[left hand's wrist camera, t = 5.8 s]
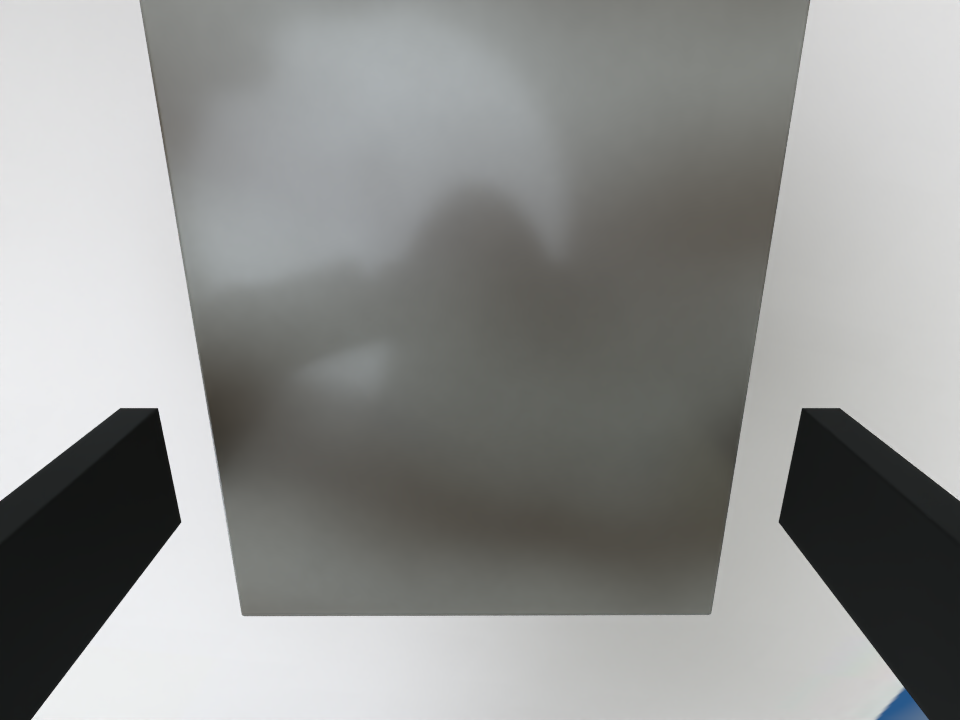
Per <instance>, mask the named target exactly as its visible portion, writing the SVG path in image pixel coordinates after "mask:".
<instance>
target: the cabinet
mask: <svg viewBox="0 0 960 720" xmlns="http://www.w3.org/2000/svg"><path fill="white" fill-rule="evenodd" d="M809 4H810V0H140V6H141V12H142V18H143V24H144V30H145V36H146V42H147V48H148V54H149V60H150V66H151V72H152V78H153V84H154V90H155V96H156V102H157V108H158V114H159V120H160V126H161V132H162V138H163V144H164V150H165V156H166V162H167V168H168V174H169V180H170V186H171V192H172V198H173V204H174V210H175V216H176V222H177V228H178V234H179V240H180V246H181V252H182V258H183V264H184V270H185V276H186V282H187V288H188V294H189V300H190V306H191V312H192V318H193V324H194V330H195V336H196V342H197V348H198V354H199V360H200V366H201V372H202V378H203V384H204V390H205V396H206V402H207V408H208V414H209V420H210V426H211V432H212V438H213V444H214V450H215V456H216V462H217V468H218V474H219V480H220V486H221V492H222V498H223V504H224V510H225V516H226V522H227V528H228V534H229V540H230V546H231V552H232V558H233V564H234V570H235V576H236V582H237V588H238V594H239V600H240V606H241V612H242V615H243V616H447V615H709V614H711V611H712V605H713V598H714V592H715V586H716V580H717V574H718V567H719V561H720V555H721V549H722V543H723V536H724V530H725V524H726V518H727V512H728V505H729V499H730V493H731V487H732V481H733V475H734V468H735V462H736V456H737V450H738V444H739V437H740V431H741V425H742V419H743V413H744V406H745V400H746V394H747V388H748V382H749V375H750V369H751V363H752V357H753V351H754V344H755V338H756V332H757V326H758V320H759V313H760V307H761V301H762V295H763V289H764V282H765V276H766V270H767V264H768V258H769V251H770V245H771V239H772V233H773V227H774V220H775V214H776V208H777V202H778V196H779V190H780V183H781V177H782V171H783V165H784V159H785V152H786V146H787V140H788V134H789V128H790V121H791V115H792V109H793V103H794V97H795V90H796V84H797V78H798V72H799V66H800V59H801V53H802V47H803V41H804V35H805V28H806V22H807V16H808V10H809Z"/></svg>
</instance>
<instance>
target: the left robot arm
mask: <svg viewBox="0 0 960 720" xmlns="http://www.w3.org/2000/svg"><path fill="white" fill-rule="evenodd" d="M180 523H181V518H180V514H179V509H178V504H177V499H176V494H175V489H174V484H173V480H172V475H171V470H170V465H169V460H168V455H167V450H166V446H165V441H164V436H163V431H162V426H161V421H160V416H159V411H158V408H120V409H119V410H117V411H116V412H115V413H114V414H112V415H111V416H110V417H108V418H107V419H106V420H104V421H103V422H102V423H101V424H99V425H98V426H97V427H95V428H94V429H93V430H92V431H90V432H89V433H88V434H86V435H85V436H84V437H83V438H81V439H80V440H79V441H77V442H76V443H75V444H74V445H72V446H71V447H70V448H68V449H67V450H66V451H64V452H63V453H62V454H61V455H59V456H58V457H57V458H55V459H54V460H53V461H52V462H50V463H49V464H48V465H46V466H45V467H44V468H43V469H41V470H40V471H39V472H37V473H36V474H35V475H33V476H32V477H31V478H30V479H28V480H27V481H26V482H24V483H23V484H22V485H21V486H19V487H18V488H17V489H15V490H14V491H13V492H12V493H10V494H9V495H8V496H6V497H5V498H4V499H2V500H1V501H0V720H31V719H32V718H33V716H34V715H35V714H36V712H37V711H38V710H39V708H40V707H41V706H42V705H43V703H44V702H45V701H46V699H47V698H48V697H49V695H50V694H51V693H52V691H53V690H54V689H55V687H56V686H57V685H58V683H59V682H60V681H61V680H62V678H63V677H64V676H65V674H66V673H67V672H68V670H69V669H70V668H71V666H72V665H73V664H74V662H75V661H76V660H77V659H78V657H79V656H80V655H81V653H82V652H83V651H84V649H85V648H86V647H87V645H88V644H89V643H90V641H91V640H92V639H93V638H94V636H95V635H96V634H97V632H98V631H99V630H100V628H101V627H102V626H103V624H104V623H105V622H106V620H107V619H108V618H109V616H110V615H111V614H112V613H113V611H114V610H115V609H116V607H117V606H118V605H119V603H120V602H121V601H122V599H123V598H124V597H125V595H126V594H127V593H128V592H129V590H130V589H131V588H132V586H133V585H134V584H135V582H136V581H137V580H138V578H139V577H140V576H141V574H142V573H143V572H144V571H145V569H146V568H147V567H148V565H149V564H150V563H151V561H152V560H153V559H154V557H155V556H156V555H157V553H158V552H159V551H160V549H161V548H162V547H163V546H164V544H165V543H166V542H167V540H168V539H169V538H170V536H171V535H172V534H173V532H174V531H175V530H176V528H177V527H178V526H179V525H180ZM779 523H780V525H781V526H782V527H783V528H784V530H785V531H786V532H787V534H788V535H789V536H790V538H791V539H792V540H793V542H794V543H795V544H796V546H797V547H798V548H799V549H800V551H801V552H802V553H803V555H804V556H805V557H806V559H807V560H808V561H809V563H810V564H811V565H812V567H813V568H814V569H815V571H816V572H817V573H818V574H819V576H820V577H821V578H822V580H823V581H824V582H825V584H826V585H827V586H828V588H829V589H830V590H831V592H832V593H833V594H834V595H835V597H836V598H837V599H838V601H839V602H840V603H841V605H842V606H843V607H844V609H845V610H846V611H847V613H848V614H849V615H850V616H851V618H852V619H853V620H854V622H855V623H856V624H857V626H858V627H859V628H860V630H861V631H862V632H863V634H864V635H865V636H866V638H867V639H868V640H869V641H870V643H871V644H872V645H873V647H874V648H875V649H876V651H877V652H878V653H879V655H880V656H881V657H882V659H883V660H884V661H885V662H886V664H887V665H888V666H889V668H890V669H891V670H892V672H893V673H894V674H895V676H896V677H897V678H898V680H899V681H900V682H901V684H902V685H903V686H904V687H905V689H906V690H907V691H908V693H909V694H910V695H911V697H912V698H913V699H914V701H915V702H916V703H917V704H918V706H919V707H920V708H921V710H922V711H923V712H924V714H925V715H926V716H927V718H928V719H929V720H960V501H959V500H958V499H956V498H955V497H954V496H952V495H951V494H950V493H948V492H947V491H946V490H945V489H943V488H942V487H941V486H939V485H938V484H937V483H936V482H934V481H933V480H932V479H930V478H929V477H928V476H927V475H925V474H924V473H923V472H921V471H920V470H919V469H917V468H916V467H915V466H914V465H912V464H911V463H910V462H908V461H907V460H906V459H905V458H903V457H902V456H901V455H899V454H898V453H897V452H896V451H894V450H893V449H892V448H890V447H889V446H888V445H886V444H885V443H884V442H883V441H881V440H880V439H879V438H877V437H876V436H875V435H874V434H872V433H871V432H870V431H868V430H867V429H866V428H865V427H863V426H862V425H861V424H859V423H858V422H857V421H856V420H854V419H853V418H852V417H850V416H849V415H848V414H846V413H845V412H844V411H843V410H841V409H840V408H802V411H801V416H800V421H799V426H798V431H797V436H796V441H795V445H794V450H793V455H792V460H791V465H790V470H789V475H788V480H787V484H786V489H785V494H784V499H783V504H782V509H781V514H780V518H779Z"/></svg>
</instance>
